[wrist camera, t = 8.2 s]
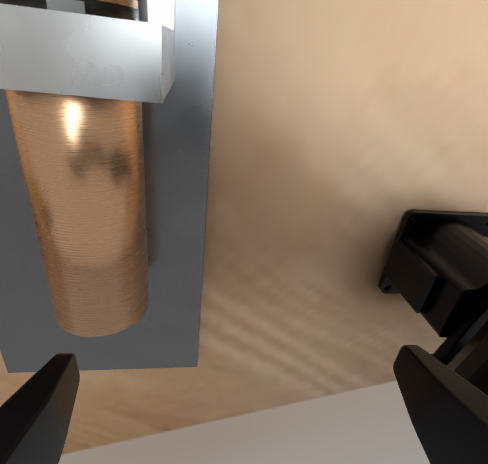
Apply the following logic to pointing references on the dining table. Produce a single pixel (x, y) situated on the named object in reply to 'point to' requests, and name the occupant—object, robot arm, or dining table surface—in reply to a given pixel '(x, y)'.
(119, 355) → the plate
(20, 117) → the tube
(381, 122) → the dining table surface
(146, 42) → the frame
